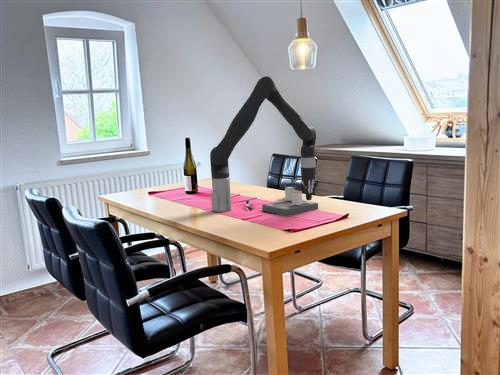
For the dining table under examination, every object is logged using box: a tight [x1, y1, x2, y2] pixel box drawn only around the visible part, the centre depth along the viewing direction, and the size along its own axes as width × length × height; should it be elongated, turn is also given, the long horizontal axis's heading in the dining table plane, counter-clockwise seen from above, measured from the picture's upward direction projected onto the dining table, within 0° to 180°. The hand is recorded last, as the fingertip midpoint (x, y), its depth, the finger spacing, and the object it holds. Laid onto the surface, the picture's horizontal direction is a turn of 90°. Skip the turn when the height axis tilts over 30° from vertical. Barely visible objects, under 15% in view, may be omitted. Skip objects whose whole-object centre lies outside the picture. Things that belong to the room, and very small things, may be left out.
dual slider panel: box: [261, 199, 319, 217], centre depth 246 cm, size 21×19×3 cm
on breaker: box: [284, 187, 294, 201], centre depth 252 cm, size 3×4×7 cm
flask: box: [284, 178, 301, 191], centre depth 275 cm, size 9×3×11 cm, turn 65°
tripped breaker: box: [292, 190, 303, 205], centre depth 240 cm, size 3×4×7 cm
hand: (308, 199), depth 246 cm, fingers closed
